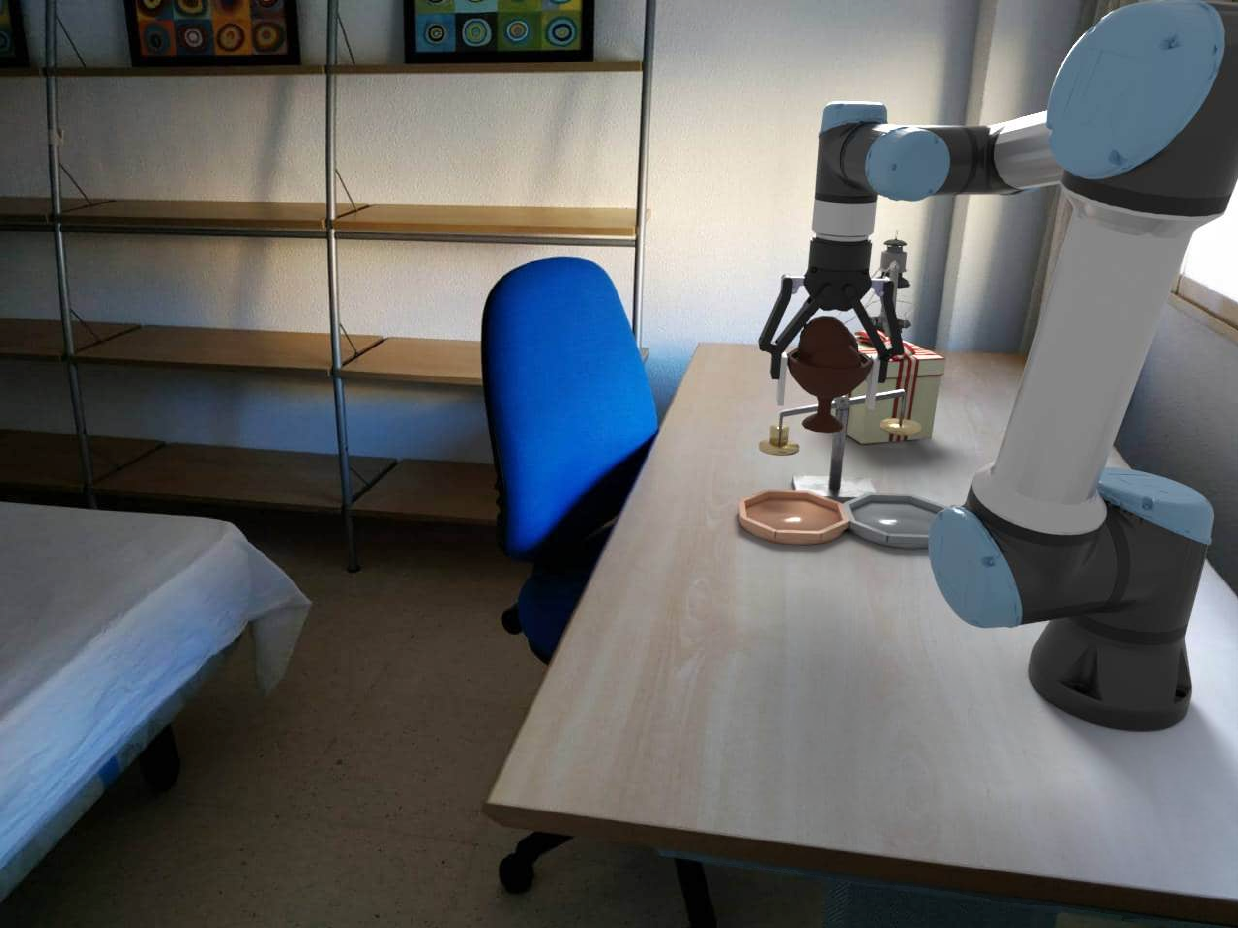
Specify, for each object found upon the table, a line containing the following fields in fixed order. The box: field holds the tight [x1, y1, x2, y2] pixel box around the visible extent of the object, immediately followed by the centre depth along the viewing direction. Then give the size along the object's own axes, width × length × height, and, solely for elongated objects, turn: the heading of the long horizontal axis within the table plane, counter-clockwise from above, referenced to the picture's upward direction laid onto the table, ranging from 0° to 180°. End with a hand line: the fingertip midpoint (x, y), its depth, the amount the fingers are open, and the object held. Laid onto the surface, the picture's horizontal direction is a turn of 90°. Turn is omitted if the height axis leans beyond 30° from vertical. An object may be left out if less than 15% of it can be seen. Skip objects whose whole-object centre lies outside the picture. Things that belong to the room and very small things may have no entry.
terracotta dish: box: [737, 488, 849, 546], centre depth 139 cm, size 15×15×2 cm
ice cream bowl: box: [786, 315, 874, 434], centre depth 127 cm, size 11×11×15 cm
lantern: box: [836, 229, 915, 342], centre depth 210 cm, size 18×20×30 cm
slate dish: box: [843, 492, 949, 550], centre depth 139 cm, size 15×15×2 cm
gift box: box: [831, 330, 946, 445], centre depth 176 cm, size 17×18×17 cm
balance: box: [758, 389, 921, 504], centre depth 147 cm, size 8×24×17 cm, turn 86°
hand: (824, 404), depth 129 cm, fingers closed on ice cream bowl, 11 cm apart
